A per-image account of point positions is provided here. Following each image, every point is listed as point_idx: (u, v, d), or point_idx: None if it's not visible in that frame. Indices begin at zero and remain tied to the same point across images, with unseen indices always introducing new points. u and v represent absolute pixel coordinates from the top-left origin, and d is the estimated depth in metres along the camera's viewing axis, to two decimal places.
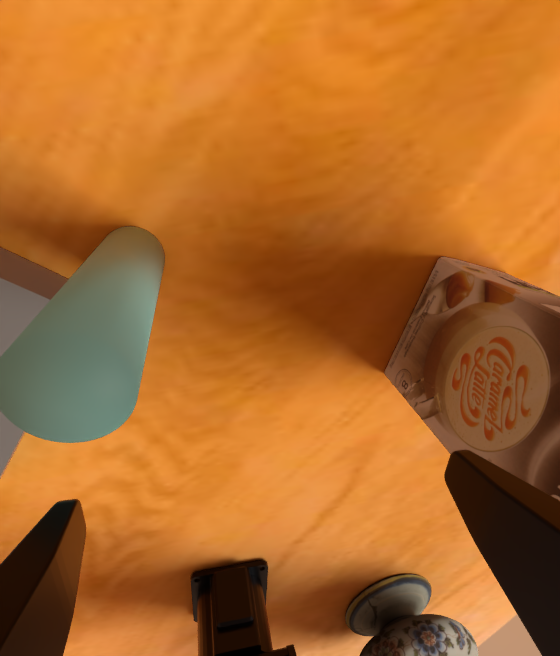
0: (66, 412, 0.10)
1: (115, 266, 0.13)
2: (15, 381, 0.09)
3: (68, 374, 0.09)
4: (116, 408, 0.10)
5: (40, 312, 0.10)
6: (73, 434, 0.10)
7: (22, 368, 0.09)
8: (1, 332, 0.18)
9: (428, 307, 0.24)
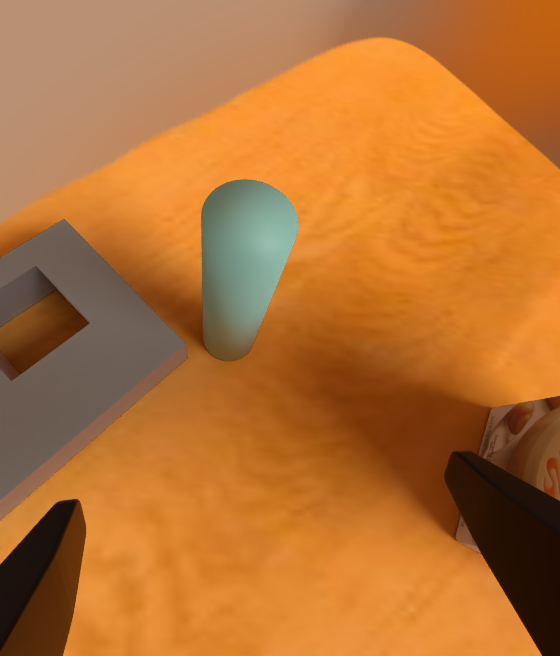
0: (241, 233, 0.12)
1: None
2: (222, 201, 0.13)
3: (257, 209, 0.13)
4: (276, 244, 0.12)
5: None
6: (237, 252, 0.12)
7: (231, 194, 0.13)
8: (112, 338, 0.20)
9: (492, 447, 0.23)
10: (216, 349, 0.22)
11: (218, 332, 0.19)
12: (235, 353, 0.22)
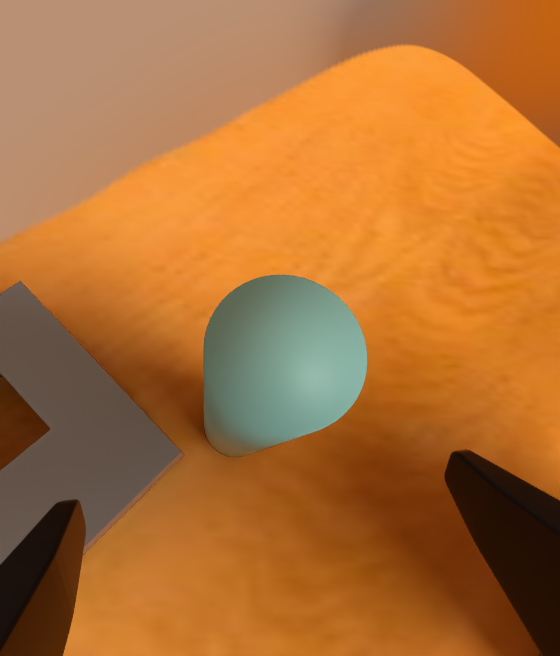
0: (274, 378, 0.07)
1: None
2: (240, 317, 0.07)
3: (297, 328, 0.08)
4: (334, 393, 0.07)
5: None
6: (268, 416, 0.07)
7: (255, 304, 0.08)
8: (80, 449, 0.14)
9: None
10: (222, 451, 0.17)
11: (225, 447, 0.14)
12: None
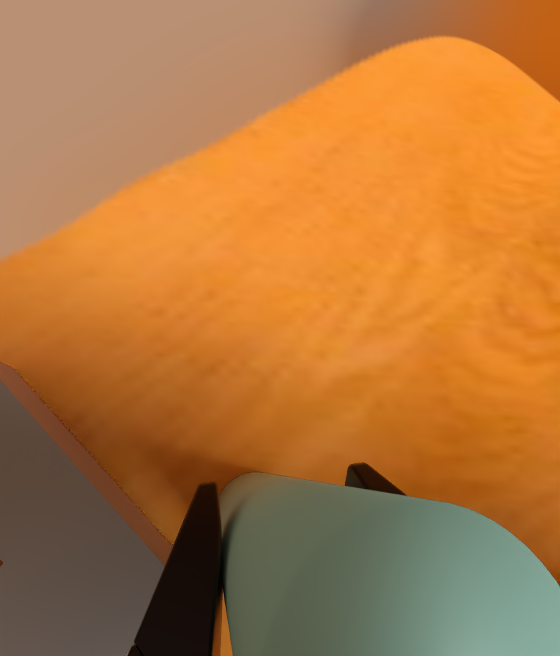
0: None
1: None
2: (328, 632, 0.03)
3: (455, 641, 0.03)
4: None
5: (302, 499, 0.05)
6: None
7: (359, 590, 0.03)
8: (44, 592, 0.10)
9: None
10: None
11: None
12: None
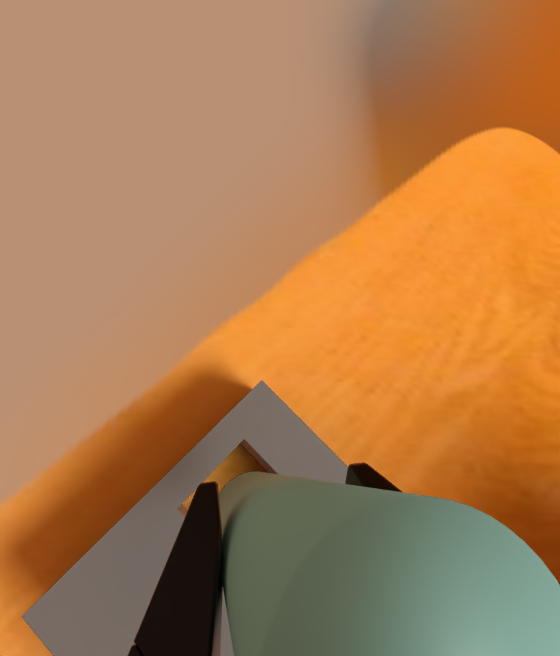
0: None
1: None
2: (328, 628, 0.03)
3: (453, 637, 0.03)
4: None
5: (302, 496, 0.05)
6: None
7: (359, 586, 0.03)
8: None
9: None
10: None
11: None
12: None
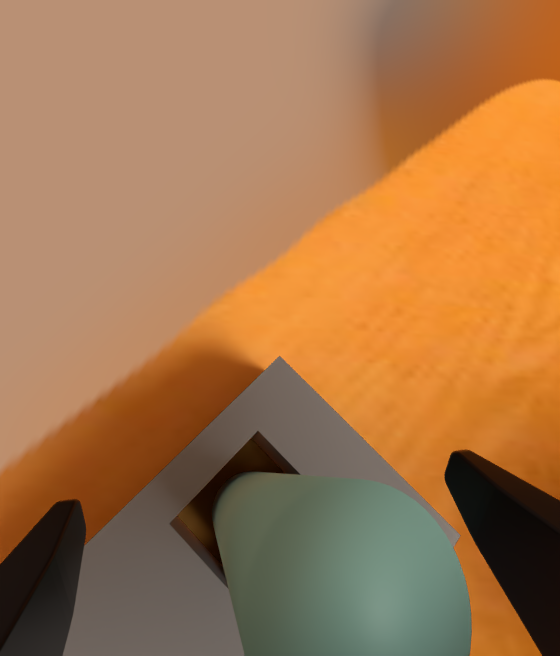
0: None
1: None
2: (291, 560, 0.05)
3: (373, 569, 0.05)
4: None
5: (282, 484, 0.07)
6: None
7: (312, 535, 0.05)
8: None
9: None
10: None
11: None
12: None
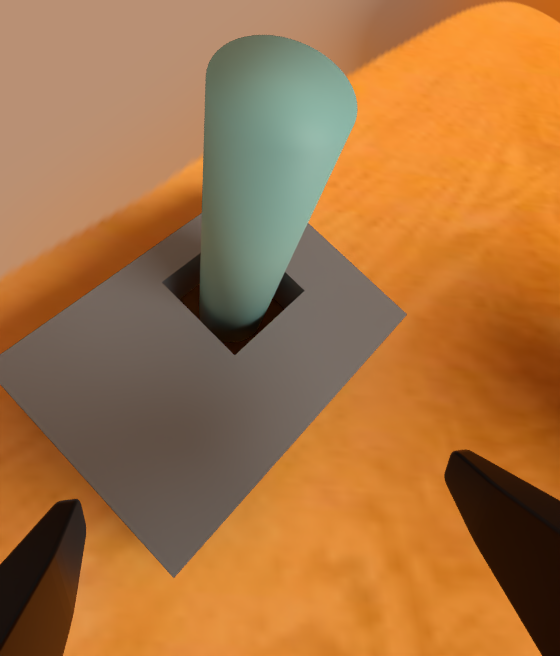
0: (271, 109, 0.08)
1: None
2: (239, 60, 0.08)
3: (293, 76, 0.08)
4: (326, 128, 0.08)
5: None
6: (265, 134, 0.07)
7: (254, 53, 0.08)
8: (330, 307, 0.17)
9: None
10: (216, 325, 0.17)
11: (220, 296, 0.14)
12: (240, 330, 0.17)
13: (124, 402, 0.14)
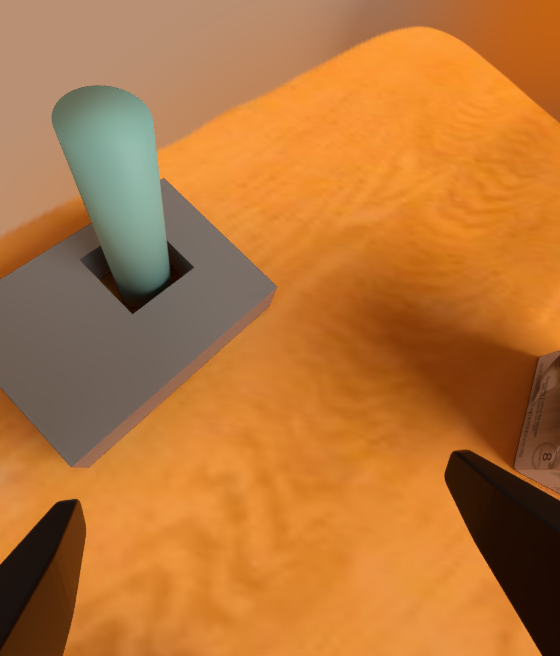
0: (91, 130, 0.13)
1: None
2: (77, 101, 0.13)
3: (112, 111, 0.13)
4: (126, 142, 0.13)
5: None
6: (84, 145, 0.12)
7: (88, 97, 0.13)
8: (214, 280, 0.22)
9: (544, 387, 0.26)
10: (125, 292, 0.22)
11: (114, 264, 0.19)
12: (144, 297, 0.22)
13: (43, 346, 0.19)
